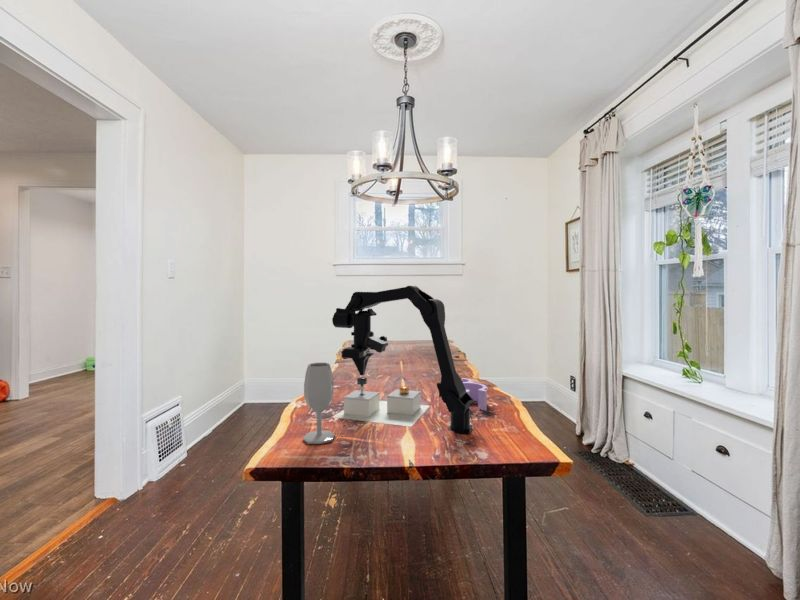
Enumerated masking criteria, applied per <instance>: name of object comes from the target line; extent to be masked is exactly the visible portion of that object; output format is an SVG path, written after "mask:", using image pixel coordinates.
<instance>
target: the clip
mask: <svg viewBox="0 0 800 600" xmlns="http://www.w3.org/2000/svg"><path fill="white" fill-rule="evenodd" d="M461 380H462V382H463V384H464V386H465V389H466V392H467V393H468V394H469V396H470V397H471V398H472V399H473V402H475V401H477V402H476V403H477V410H480V409H481V410H480V411H484V410H485V411H487V410H488V409H487V408H488V403H487V402H488V397H487V396H488V393H487V392H488V389H487V388H488V387H487V385H485V384H483V383H479V382H476V381H475V382H474V381H473V379H470V378H465V377H461ZM470 408H471V407H469V409H470Z"/></svg>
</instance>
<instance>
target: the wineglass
mask: <svg viewBox="0 0 800 600" xmlns="http://www.w3.org/2000/svg"><path fill="white" fill-rule="evenodd" d="M303 383H304V384H303V396H304V399H305V403H306V406H308V407H309V408H310V409H311V410H313V412H314V413H316V430H315V431H314V430H313V431H310V432H306V434H305V435H304V436H303V441H304V442H305V443H306V444H307V445H322V444H323V445H324V444H326V443H330V442H333V440H334V439H335V436H336V434H335V433H334V432H332V431H331V430H323V429H322V428H323V425H322V423H323V422H322V418H323V417H322V415H323V414H322V413H323V412H324V411H325V410H326V409H327V408H328V407H330V405H331V404H332V401H333V397H334V392H335V391H334V388H335V386H334V377H333V371H332V368H331V364H330V363H328V362H311V363H309V364H307V368H306V371H305V376H304V382H303Z"/></svg>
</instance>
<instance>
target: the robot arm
mask: <svg viewBox="0 0 800 600" xmlns="http://www.w3.org/2000/svg"><path fill="white" fill-rule="evenodd" d="M401 300H409V301H410V302H411V303H412V305H413V306H414V307H415V308H416V309H417V310H418V311H419V314H420V315H421V319H422V320H423V322H424V323H425V325H426V326H427V328H428V330H429V332H430V336H431V339H432V344H433V348H434V352H435V355H436V360H437V363H438V367H439V372H440V376H441V377H440V381H438V382H437V383H436V388H437V389H438V390H437V391H438V393H439V395H438V397H439V398H441V400H442V402H443V403H444V404H445V405H446V409H447V411H448V413H450V425H449V426H448V428H447V431H450V432H454V433H457V434H458V433H459V434H463V435H464V434H465V435H469V434H471V432H472V430H473V425H472V424H471V422H470V421H471V415H470V414H471V410H470V409H469V407H470V408H471V407H472V406H473V403H474V401H473V399H472V398H471V397H470V396H469V394H468V393H467V392H466V389H465V386H464V384H463V382H462V377H461V376H459V374H458V372H457V371H456V366H455V362H454V360H453V355H452V352H451V347H450V343H449V340H448V336H447V332H446V327H445V324H446V323H445V321H446V311H445V309H446V307H445V304H444V302H443V301H441V300H440V299H437V298H434V297H433V296H431V295H429V294H428V293H427V292H425V291H423V290H422V289H420V287H418V286H416V285H407V286H404V287H399V288H398V287H397V288H393V289H387V290H382V291H381V290H380V291H355V292H353V293H352V295H351V297H350V300H349V302H348V303H347V305H346V307H345V308H343V307H337V308H335V312H334V314H333V316H332V319H331V321H332V325H333V326H334V327H335V328H342V329H351V328H353V331H351V332H350V333H351V334H350V335H351V336H353V343H352V344H351V345H350V347H345V348H344V349H342V350H341V358H343V359H344V358H346V359H352V362H353V363H354V365H355V367H356V369H357V371H358V373H359V376H364V375H365V373H366V369H367V365H368V363H369V360H370V358H371V357H372V356H374V354H375V353H374V352H373V353H372V352H371V351H373V350H374V351H375V352H376V353H378V354H379V353H382V352H385V351H386V348H387V347H388V346H389V341H388V337H387V336H385V335H381V336H380V337H378V336H375V334H374V332H373V331H371V327H372V326H371V324H372V321H371V319H372V318H371V317H373V316H377V312H375V311H374V310H373V307H375V306H378V305H379V304H382V303H387V302H389V303H390V302H395V301H401ZM365 309H367V310H365ZM356 312H357V313H356ZM370 350H371V351H370Z"/></svg>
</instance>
